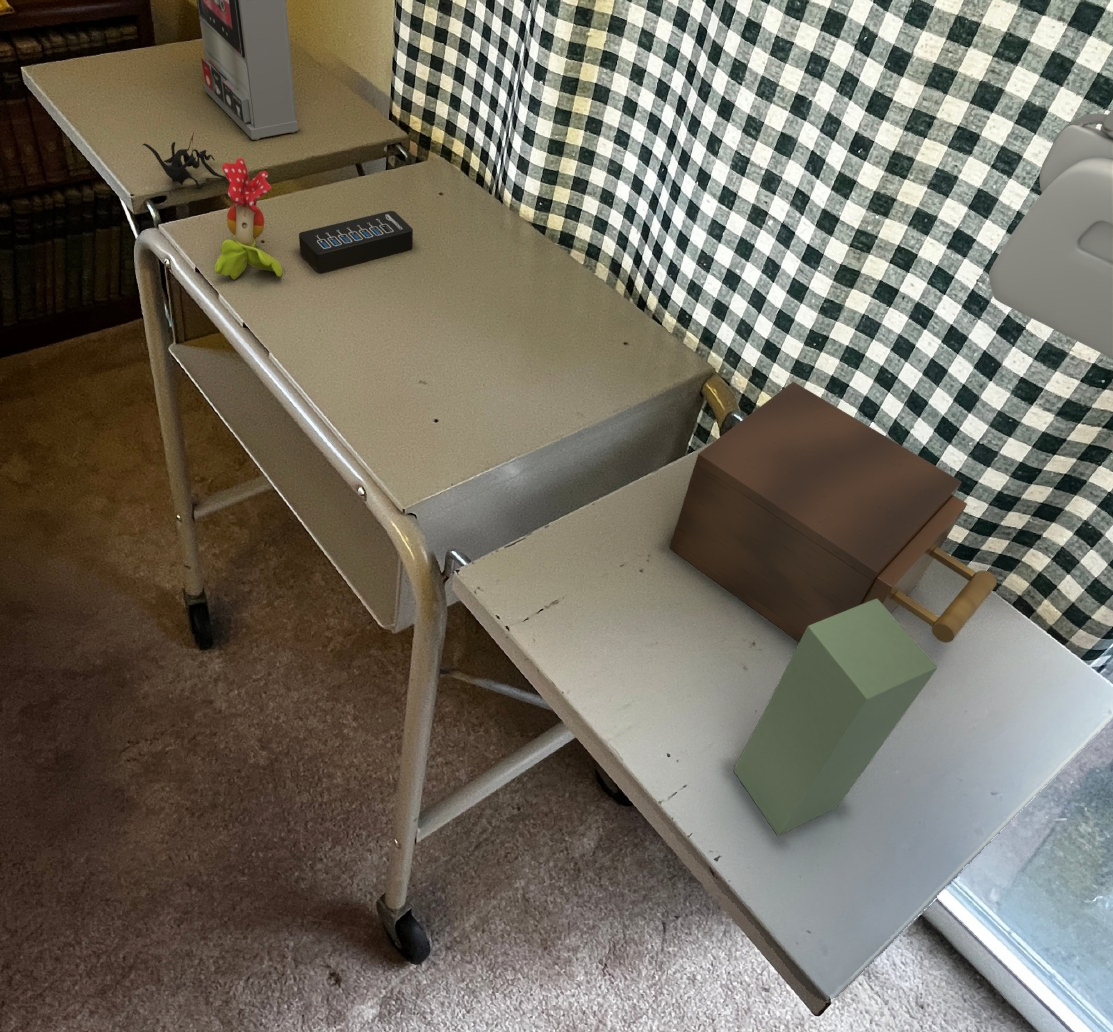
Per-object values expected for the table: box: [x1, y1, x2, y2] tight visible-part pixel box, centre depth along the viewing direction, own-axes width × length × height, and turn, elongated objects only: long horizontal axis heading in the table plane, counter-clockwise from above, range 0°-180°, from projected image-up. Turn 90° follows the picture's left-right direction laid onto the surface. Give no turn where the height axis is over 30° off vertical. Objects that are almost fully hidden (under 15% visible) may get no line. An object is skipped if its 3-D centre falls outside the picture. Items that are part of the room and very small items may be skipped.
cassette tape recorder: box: [196, 0, 299, 141], centre depth 108 cm, size 14×6×25 cm, turn 37°
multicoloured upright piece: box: [213, 157, 283, 281], centre depth 92 cm, size 6×11×9 cm
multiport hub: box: [298, 210, 414, 275], centre depth 98 cm, size 4×11×2 cm, turn 126°
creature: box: [142, 131, 228, 189], centre depth 103 cm, size 8×5×8 cm
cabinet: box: [669, 381, 962, 643], centre depth 73 cm, size 15×13×10 cm
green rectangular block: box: [733, 599, 938, 837], centre depth 57 cm, size 5×5×16 cm
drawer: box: [862, 494, 998, 643], centre depth 71 cm, size 18×12×8 cm, turn 48°
